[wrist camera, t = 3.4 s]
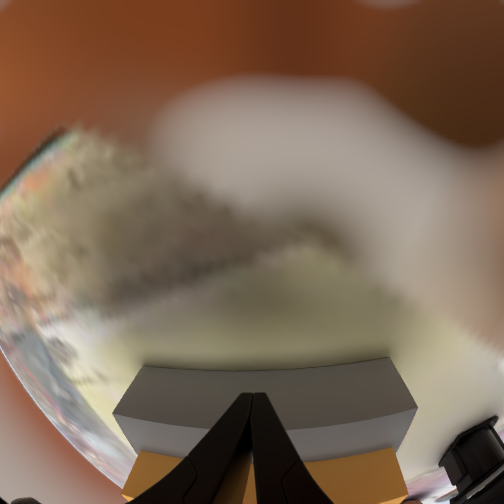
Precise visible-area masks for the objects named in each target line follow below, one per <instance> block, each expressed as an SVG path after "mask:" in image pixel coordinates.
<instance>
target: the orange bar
mask: <svg viewBox="0 0 504 504" xmlns="http://www.w3.org/2000/svg"><path fill="white" fill-rule="evenodd" d="M182 459H183V458H177V457H171V456H166V455H160V454H155V453H151V452H146V451H142V450H140V453H139V455H138V457H137V459H136V461H135V463H134V466H133V468H132V470H131V472H130V474H129V477H128V479H127V481H126V483H125V486H124V488H123V490H122V492H121V495H122V496H123V497H124V498H126V499H127V500H128V501H131V500H132V499H134V498H135V497H137V496H138V495H140V494H141V493H143V492H144V491H146V490H147V489H148V488H150V487H151V486H152V485H154V484H155V483H157V482H158V481H159V480H160V479H162V478H163V477H164V476H165V475H167V474H168V473H169V472H170V471H171V470H172V469H173V468H174V467H176V466H177V465H178V464H179V463H180V462H181V461H182ZM304 464H305V466H306V468H307V469H308V471H309V472H310V474H311V476H312V477H313V479H314V480H315V481H316V482H317V484H318V485H319V486H320V488H321V489H322V490H323V491H324V492H325V494H326V495H327V496H328V497H329V498H330V499H331V500H332V501H333V503H334V504H400V503H401V502H402V501H403V500H404V499H405V498H406V497H407V496H408V495H409V494H408V491H407V488H406V484H405V481H404V478H403V475H402V472H401V469H400V466H399V464H398V461H397V458H396V455H395V452H394V449H393V447H390V448H386V449H382V450H378V451H374V452H369V453H365V454H360V455H355V456H349V457H343V458H337V459H330V460H322V461H313V462H304ZM243 504H257V498H256V487H255V476H254V465H253V464H251V466H250V471H249V476H248V481H247V485H246V490H245V494H244V499H243Z"/></svg>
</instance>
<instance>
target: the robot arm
mask: <svg viewBox="0 0 504 504" xmlns="http://www.w3.org/2000/svg"><path fill="white" fill-rule="evenodd" d="M497 420H498V416H495V417H493V418H491V419H490V420H488V421H486V422H484V423H482V424H480V425H479V426H477V427H475V428H473V429H471V430H469V431H467V432H465V433H462V434H461V435H460V436H458V438H457V439H456V441H455V442H454V444H453V445H452V446H451V448H450V449H449V451H448V452H447V454H446V455H445V456H444V458H443V459H442V460H441V462H440V463H439V464H438V465H439V467H442V466H444V468H445V470H446V472H447V475H448V477H449V479H450V481H451V484H452V485H453V486H455V485H456V487H457V490H458V492H459V495H457V496H456V497H453V498H451V499H450V504H504V472H502V471H503V470H504V443H503V441H502V440H501V438H500V437H499V435H498V434H497V432H496V431H495V429H494V428H493V426H494V425H495V423H496V422H497ZM252 456H253V465H254V476H255V487H256V498H257V504H334V503H333V501H332V500H331V499H330V498H329V497H328V496H327V495H326V494H325V492H324V491H323V490H322V489H321V488H320V486H319V485H318V484H317V482H316V481H315V480H314V479H313V477H312V476H311V474H310V472H309V471H308V469H307V468H306V466H305V464H304V462H303V461H302V459H301V457H300V456H299V454H298V452H297V450H296V448H295V446H294V445H293V443H292V441H291V439H290V437H289V435H288V434H287V432H286V430H285V428H284V426H283V424H282V422H281V420H280V418H279V417H278V415H277V413H276V411H275V409H274V407H273V405H272V403H271V401H270V399H269V397H268V395H267V393H266V392H254V394H253V392H241V393H240V394H239V395H238V397H237V398H236V399H235V400H234V402H233V403H232V404H231V405H230V406H229V408H228V409H227V410H226V411H225V412H224V414H223V415H222V416H221V417H220V418H219V420H218V421H217V422H216V423H215V424H214V425H213V426H212V428H211V429H210V430H209V431H208V432H207V433H206V434H205V436H204V437H203V438H202V439H201V440H200V441H199V442H198V443H197V445H196V446H195V447H194V448H193V449H192V450H191V451H190V452H189V453H188V456H185V457H184V458H183V459H182V461H181V462H180V463H179V464H178V465H177V466H176V467H174V468H173V469H172V470H171V471H170V472H169V473H168V474H167V475H165V476H164V477H163V478H162V479H160V480H159V481H158V482H157V483H155V484H154V485H152V486H151V487H150V488H148V489H147V490H146V491H144V492H143V493H141V494H140V495H138V496H137V497H135V498H134V499H132V500H131V501H129V502H127V503H125V504H243V499H244V494H245V490H246V485H247V481H248V476H249V471H250V466H251V461H252ZM501 472H502V473H501ZM500 473H501V474H500ZM499 474H500V475H499ZM497 475H499V476H498V477H496V476H497ZM495 477H496V478H495ZM494 478H495V479H494ZM493 479H494V480H493ZM491 480H493V481H492V482H490V481H491ZM489 482H490V483H489ZM488 483H489V484H488ZM486 484H488V485H487V486H485V485H486ZM484 486H485V487H484ZM482 487H484V488H483V489H481V488H482ZM480 489H481V490H480ZM478 490H480V491H479V492H477V491H478ZM476 492H477V493H476ZM474 493H476V494H474ZM473 494H474V495H473ZM471 495H473V496H472V497H470V496H471ZM469 497H470V498H469ZM467 498H469V499H467ZM0 504H8V503H7V502H6V501H5V500H3V499H2V498H1V497H0ZM11 504H41V503H40V502H38V501H37V500H35V499H33V498H32V497H27V498H19V499H15V500H13V501H12V502H11Z"/></svg>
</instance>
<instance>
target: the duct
mask: <svg viewBox="0 0 504 504" xmlns="http://www.w3.org/2000/svg"><path fill="white" fill-rule="evenodd" d="M241 392H253V394H254V392H266V393H267V395H268V397H269V399H270V401H271V403H272V405H273V407H274V409H275V411H276V413H277V415H278V417H279V418H280V420H281V422H282V424H283V426H284V428H285V430H286V432H287V434H288V435H289V437H290V439H291V441H292V443H293V445H294V446H295V448H296V450H297V452H298V454H299V456H300V457H301V459H302V461H303V462H313V461H322V460H330V459H337V458H343V457H349V456H355V455H360V454H365V453H369V452H374V451H378V450H382V449H386V448H390V447H393V449H394V452H395V454H396V452H397V450H398V448H399V447H400V445H401V443H402V441H403V439H404V437H405V435H406V433H407V431H408V429H409V427H410V424H411V422H412V420H413V418H414V416H415V413H416V411H417V409H418V406H417V405H416V403H415V401H414V399H413V397H412V395H411V394H410V392H409V390H408V388H407V387H406V385H405V383H404V381H403V380H402V378H401V376H400V374H399V373H398V371H397V369H396V368H395V366H394V364H393V362H392V361H391V359H390V357H388V358H383V359H377V360H371V361H365V362H358V363H351V364H343V365H335V366H326V367H316V368H304V369H290V370H270V371H204V370H184V369H170V368H158V367H148V366H142V368H141V369H140V371H139V373H138V374H137V376H136V377H135V379H134V380H133V382H132V383H131V385H130V386H129V388H128V389H127V391H126V392H125V394H124V395H123V397H122V399H121V400H120V402H119V403H118V405H117V406H116V408H115V409H114V411H113V413H112V414H113V416H114V418H115V419H116V421H117V423H118V425H119V426H120V428H121V430H122V431H123V433H124V435H125V436H126V438H127V439H128V441H129V443H130V444H131V446H132V447H133V449H134V450H135V452H136V453H137V455H139V453H140V450H142V451H146V452H151V453H155V454H160V455H166V456H171V457H177V458H184V457H185V456H188V453H189V452H190V451H191V450H192V449H193V448H194V447H195V446H196V445H197V443H198V442H199V441H200V440H201V439H202V438H203V437H204V436H205V434H206V433H207V432H208V431H209V430H210V429H211V428H212V426H213V425H214V424H215V423H216V422H217V421H218V420H219V418H220V417H221V416H222V415H223V414H224V412H225V411H226V410H227V409H228V408H229V406H230V405H231V404H232V403H233V402H234V400H235V399H236V398H237V397H238V395H239V394H240V393H241ZM251 464H253V456H252V461H251Z"/></svg>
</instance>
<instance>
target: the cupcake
mask: <svg viewBox="0 0 504 504" xmlns="http://www.w3.org/2000/svg"><path fill="white" fill-rule="evenodd" d="M401 504H422V503H421V501H420V500H414V501H412V500H409V501H405V502H403V503H401Z"/></svg>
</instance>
